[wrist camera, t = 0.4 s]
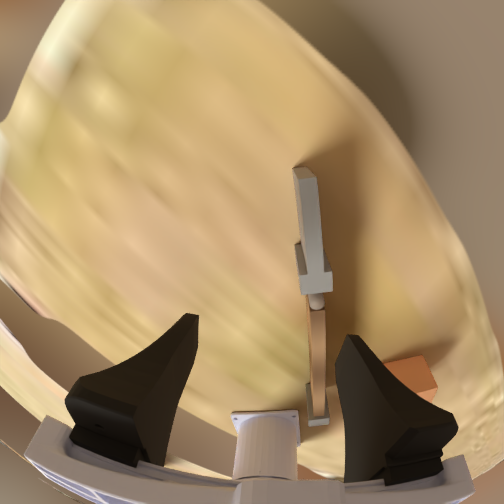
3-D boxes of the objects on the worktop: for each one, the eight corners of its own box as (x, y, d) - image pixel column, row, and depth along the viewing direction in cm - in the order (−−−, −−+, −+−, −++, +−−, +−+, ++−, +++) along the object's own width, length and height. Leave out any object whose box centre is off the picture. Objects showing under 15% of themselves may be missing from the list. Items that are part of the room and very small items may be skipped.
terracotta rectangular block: (414, 378, 27) (427, 410, 23) (367, 388, 28) (376, 423, 23) (421, 354, 26) (438, 387, 21) (371, 365, 26) (382, 401, 22)
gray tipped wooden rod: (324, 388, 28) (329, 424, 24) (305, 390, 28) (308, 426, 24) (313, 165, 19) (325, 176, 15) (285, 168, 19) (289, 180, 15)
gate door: (320, 383, 27) (324, 415, 23) (310, 384, 27) (313, 416, 23) (316, 266, 22) (324, 295, 18) (303, 267, 22) (309, 297, 18)
